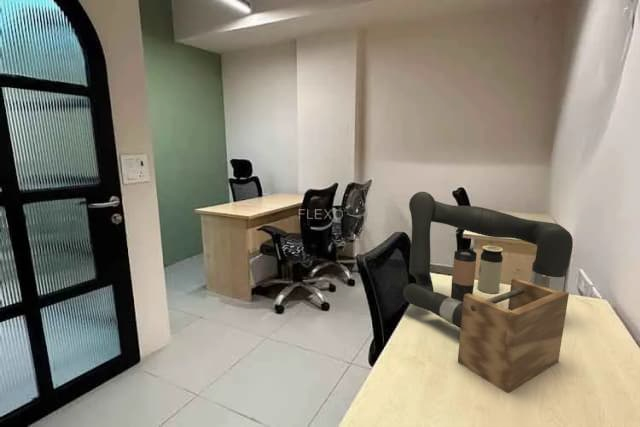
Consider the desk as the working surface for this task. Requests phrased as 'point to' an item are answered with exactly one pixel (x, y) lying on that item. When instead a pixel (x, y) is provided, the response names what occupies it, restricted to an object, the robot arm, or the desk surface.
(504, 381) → the wooden crate with handle
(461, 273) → the travel mug
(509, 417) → the desk surface
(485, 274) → the travel mug
